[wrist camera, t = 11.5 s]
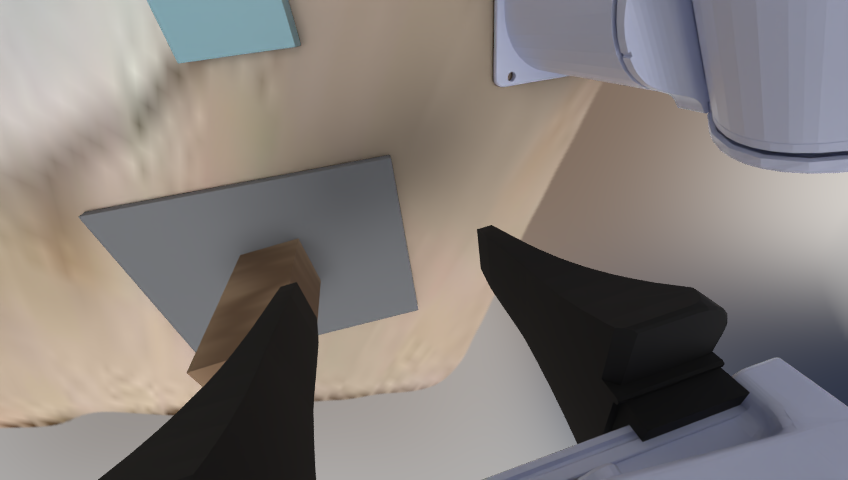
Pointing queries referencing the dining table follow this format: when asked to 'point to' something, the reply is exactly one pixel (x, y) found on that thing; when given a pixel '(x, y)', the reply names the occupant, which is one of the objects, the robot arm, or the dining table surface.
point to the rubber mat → (268, 242)
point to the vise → (224, 27)
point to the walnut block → (252, 301)
